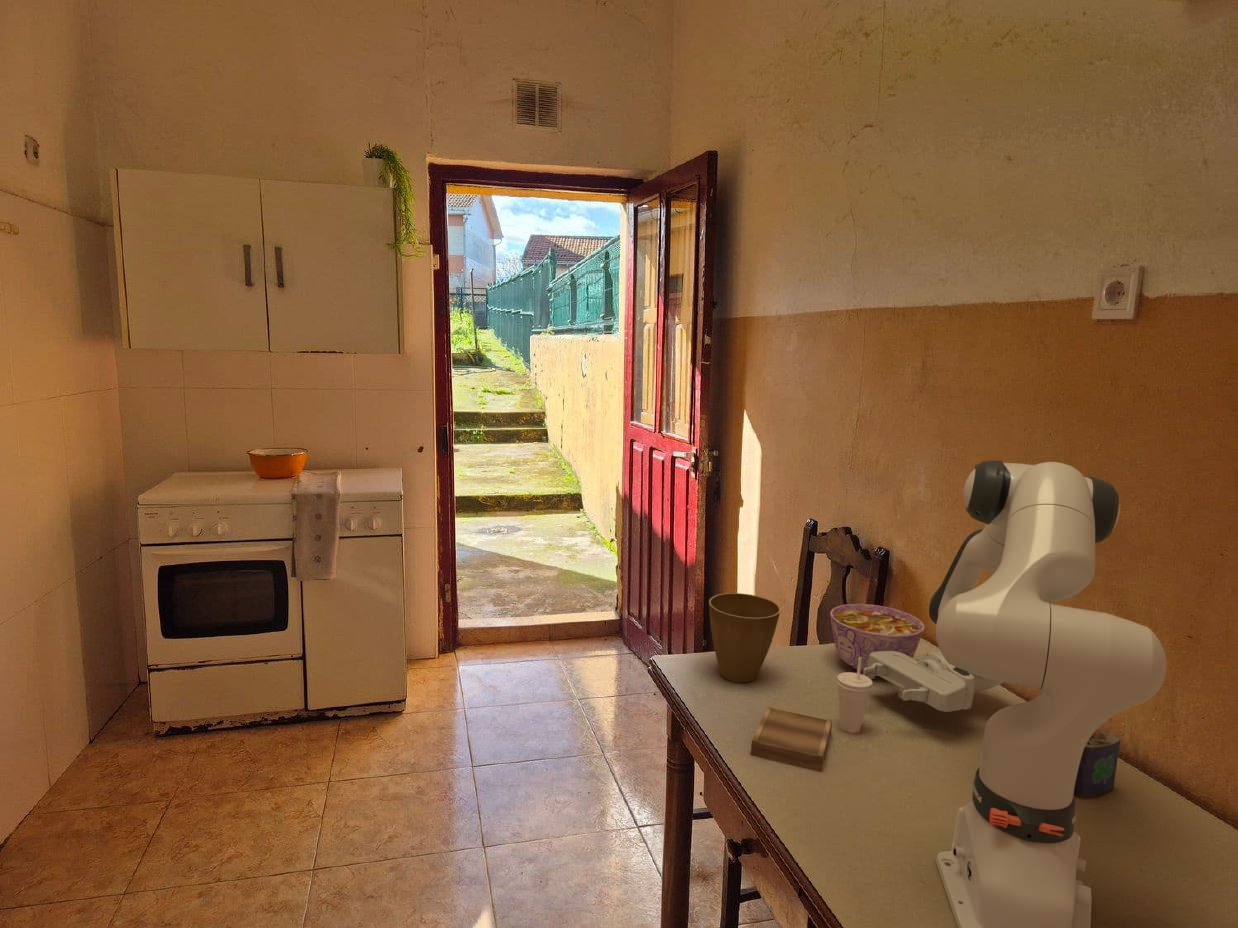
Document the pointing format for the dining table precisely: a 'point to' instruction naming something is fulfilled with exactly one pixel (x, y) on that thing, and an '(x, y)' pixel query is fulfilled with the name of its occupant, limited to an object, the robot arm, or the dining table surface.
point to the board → (792, 738)
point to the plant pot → (742, 633)
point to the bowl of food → (873, 632)
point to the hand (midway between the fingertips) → (882, 683)
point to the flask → (1097, 766)
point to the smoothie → (852, 698)
